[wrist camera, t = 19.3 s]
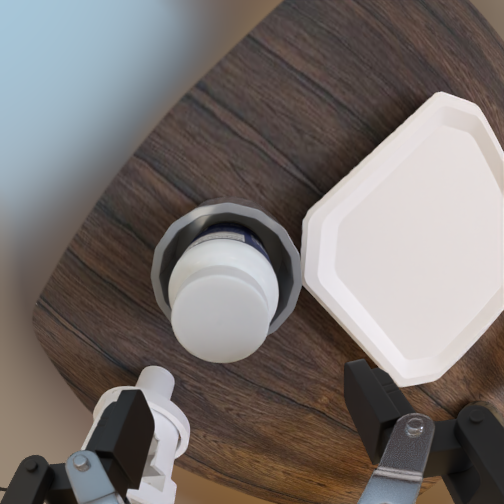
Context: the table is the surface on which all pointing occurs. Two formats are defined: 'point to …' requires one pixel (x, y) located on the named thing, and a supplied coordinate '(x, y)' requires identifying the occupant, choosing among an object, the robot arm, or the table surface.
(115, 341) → the table surface
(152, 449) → the white ringed tube holder
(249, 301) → the pill bottle
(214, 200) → the grey faceted pot
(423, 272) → the plate
